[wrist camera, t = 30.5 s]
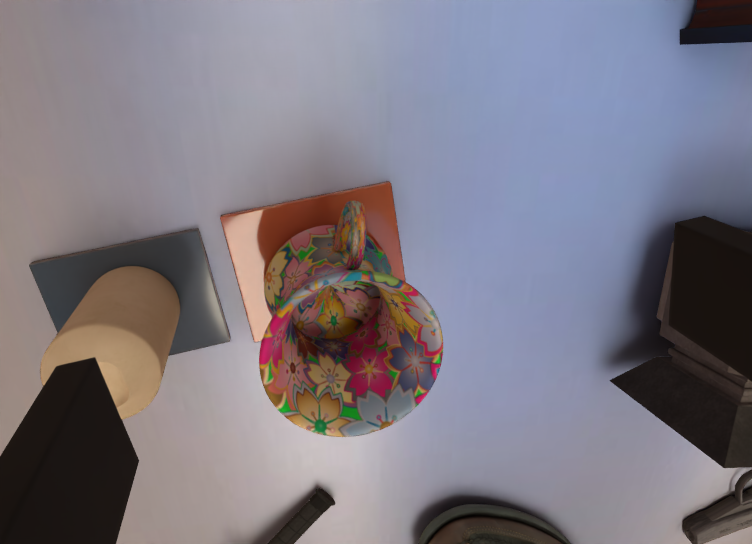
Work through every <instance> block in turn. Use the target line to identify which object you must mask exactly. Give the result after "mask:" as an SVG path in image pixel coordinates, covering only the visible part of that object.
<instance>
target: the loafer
mask: <svg viewBox="0 0 752 544" xmlns="http://www.w3.org/2000/svg"><path fill="white" fill-rule="evenodd" d="M418 544H571V543H570V542H569V541H568V540H567V539H566V538H565V537H564V536H563V535H562V534H561V533H560V532H559V531H557V530H556V529H555V528H553V527H552V526H550V525H549V524H547V523H546V522H544V521H542V520H540V519H538V518H536V517H534V516H531V515H529V514H526V513H524V512H519V511H518V510H515V509H511V508H506V507H501V506H496V505H486V504H483V505H479V504H467V505H461V506H457V507H454V508H452V509H449V510H447V511H445V512H443V513H442V514H440V515H439V516H437V517H436V518H435V519H434V520H432V521H431V522H430V523H429V524H428V526H427V527H426V528H425V529H424V531H423V532H422V534H421V536H420V539H419V543H418Z"/></svg>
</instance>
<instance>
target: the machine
mask: <svg viewBox="0 0 752 544" xmlns="http://www.w3.org/2000/svg"><path fill="white" fill-rule="evenodd" d="M748 233H751V234H752V232H748ZM673 245H674V242H672V246H671V250H670V255H669V260H668V265H667V269H666V274H665V279H664V284H663V289H662V293H661V298H660V303H659V308H658V312H657V318H658V319H660V320H661V321H662V323H661V328H660V333H659V335H661V336H663V337H664V338H666V339H667V340H669V341H671V342H673V343H675V347H674V348H669V349H668V353H669V354H670V355H671V356H657V357H655V358H653V359H651V360H649V361H647V362H645V363H643V364H641V365H639V366H637V367H635V368H633V369H631V370H629V371H627V372H625V373H623V374H621V375H620V376H618V377H616V378H614V379H612V380H610V381H611V382H612V383H613V384H615V385H616V386H617V387H619V388H620V389H621V390H622V391H624V392H625V393H626V394H628V395H629V396H630V397H632V398H633V399H634V400H636V401H637V402H638V403H640V404H641V405H642V406H643V407H645V408H646V409H647V410H649V411H650V412H651V413H653V414H654V415H655V416H657V417H658V418H659V419H660V420H662V421H663V422H664V423H666V424H667V425H668V426H670V427H671V428H672V429H674V430H675V431H676V432H678V433H679V434H680V435H681V436H683V437H684V438H685V439H687V440H688V441H689V442H691V443H692V444H693V445H695V446H696V447H697V448H698V449H700V450H701V451H702V452H704V453H705V454H706V455H708V456H709V457H710V458H712V459H713V460H714V461H715V462H717V463H718V464H719V465H721V466H722V467H723V468H738V467H752V381H750V380H749V379H747V378H746V377H744V376H743V375H741V374H740V373H739V372H737V371H736V370H734V369H733V368H731V367H730V366H728V365H727V364H725V363H724V362H722V361H721V360H719V359H718V358H716V357H715V356H713V355H712V354H710V353H709V352H707V351H706V350H705V349H703V348H702V347H700V346H699V345H697V344H696V343H694V342H693V341H691V340H690V339H688V338H687V337H685V336H684V335H682V334H681V333H679V332H678V331H676V330H675V329H673V328H672V327H670V326H669V325H668V323H669V308H670V292H671V277H672V261H673Z"/></svg>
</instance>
